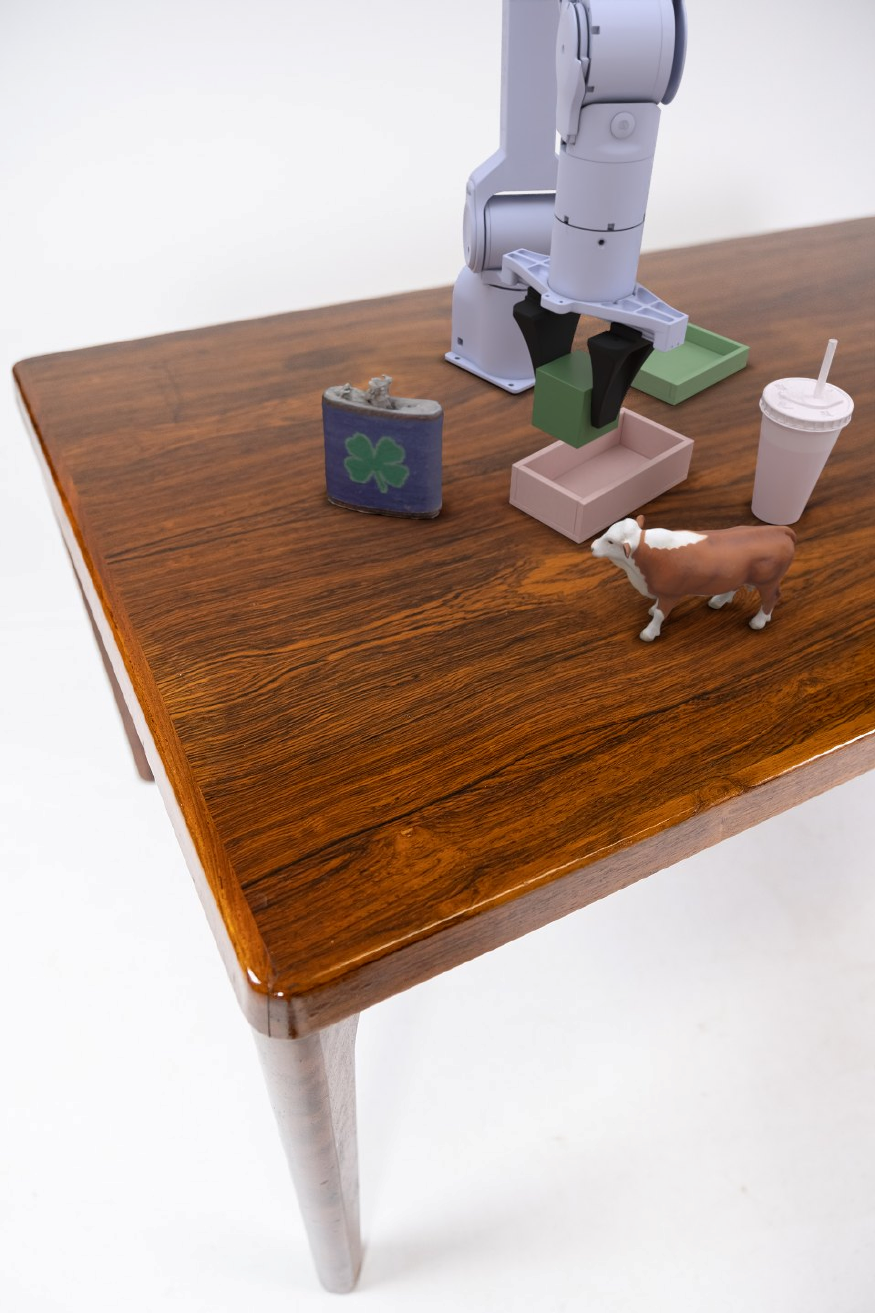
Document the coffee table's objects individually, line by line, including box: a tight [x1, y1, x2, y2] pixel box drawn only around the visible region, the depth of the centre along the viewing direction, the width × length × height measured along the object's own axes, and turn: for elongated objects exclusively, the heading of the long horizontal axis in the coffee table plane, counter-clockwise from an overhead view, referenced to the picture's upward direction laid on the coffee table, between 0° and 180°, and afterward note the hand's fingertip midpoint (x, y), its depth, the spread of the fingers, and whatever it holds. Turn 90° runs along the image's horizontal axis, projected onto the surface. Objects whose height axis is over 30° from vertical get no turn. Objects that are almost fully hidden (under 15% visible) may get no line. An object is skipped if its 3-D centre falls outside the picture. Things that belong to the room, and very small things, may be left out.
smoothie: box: [750, 338, 855, 526], centre depth 74 cm, size 6×6×14 cm
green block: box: [531, 349, 622, 449], centre depth 72 cm, size 4×4×4 cm
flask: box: [321, 373, 445, 520], centre depth 75 cm, size 9×3×11 cm, turn 74°
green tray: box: [630, 322, 751, 406], centre depth 95 cm, size 9×11×2 cm
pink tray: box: [508, 406, 695, 545], centre depth 79 cm, size 7×13×4 cm, turn 133°
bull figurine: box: [590, 514, 797, 642], centre depth 66 cm, size 4×13×8 cm, turn 95°
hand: (576, 408), depth 73 cm, fingers closed on green block, 4 cm apart
